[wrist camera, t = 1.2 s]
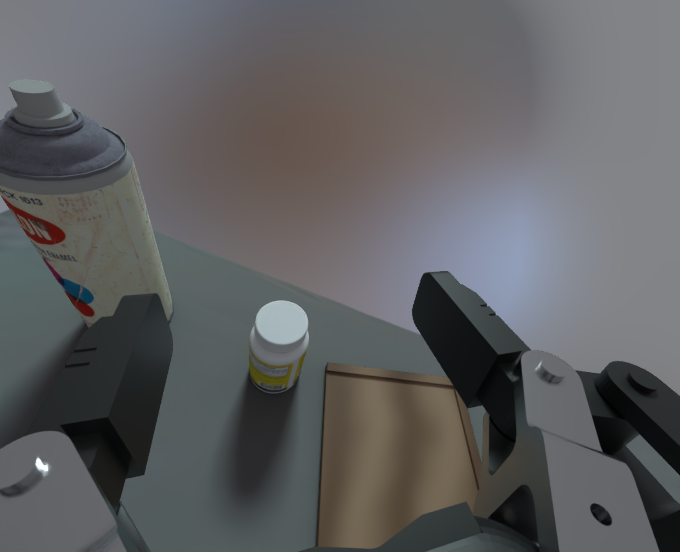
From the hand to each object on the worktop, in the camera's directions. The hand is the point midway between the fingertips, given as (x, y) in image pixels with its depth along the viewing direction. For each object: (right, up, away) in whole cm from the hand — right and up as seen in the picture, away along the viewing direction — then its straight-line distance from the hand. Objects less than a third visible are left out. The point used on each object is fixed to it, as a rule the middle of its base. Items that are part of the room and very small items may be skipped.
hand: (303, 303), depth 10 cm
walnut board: (+6, -14, +17) cm, 23 cm away
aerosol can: (-19, -3, +20) cm, 28 cm away
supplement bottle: (-5, -8, +20) cm, 22 cm away
